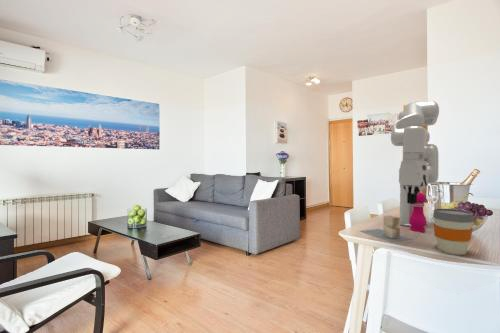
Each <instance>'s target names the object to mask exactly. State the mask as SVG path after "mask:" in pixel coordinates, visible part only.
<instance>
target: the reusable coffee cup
mask: <svg viewBox="0 0 500 333" xmlns="http://www.w3.org/2000/svg"><path fill="white" fill-rule="evenodd" d="M432 217H433V220H434V221H433V222H434V223H433V231H434V237H435V239H436V247H437V249H438V250H440V251H441V252H442V253H445V254H449V255H460V256H461V255H466V254H467V251H468V246H469V242H470V241H471V238H472V233H473V228H472V226H473V222H474V219H475V218H474V212H471V211H468V210H463V209H462V210H461V209H456V208H435V209H433V215H432Z"/></svg>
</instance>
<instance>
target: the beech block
mask: <svg viewBox="0 0 500 333" xmlns="http://www.w3.org/2000/svg"><path fill="white" fill-rule="evenodd" d="M382 225H383V228H382V230H383V236H384V237H387V238H390V239H397V238H400V236H401V234H400V233H401V232H400V231H401V225H400V216H396V215H392V214H390V215H383V224H382Z"/></svg>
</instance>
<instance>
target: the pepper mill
mask: <svg viewBox="0 0 500 333" xmlns="http://www.w3.org/2000/svg"><path fill="white" fill-rule="evenodd" d="M420 192H421V193H420ZM426 200H427V197H426V195H425V194H424V193H423V192H422V190H420V191H419V193H418V194H417V203H416V204H412V205H413V212H412V215H411V216H410V219H409V223H410V224H411V226H410V227H409V230H410V231H413V232H419V233H423V234H424V233H426V228H425V226H427V217H426V216H425V213H424V207H425V202H426ZM425 217H426V218H425Z"/></svg>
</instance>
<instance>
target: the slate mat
mask: <svg viewBox="0 0 500 333" xmlns="http://www.w3.org/2000/svg"><path fill="white" fill-rule="evenodd" d="M359 232H361V233H363V234H366V235H369V236H372V237H375V238H378V239H380V240H384V241H386V242H389V243H392V244H393V243H400V242H401V243H402V242H407V241H414V239H412V238H409V237H406V236H403V235H400V238H397V239H390V238H387V237H384V236H383V229H380V228H373V229H366V230H365V229H363V230H359Z"/></svg>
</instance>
